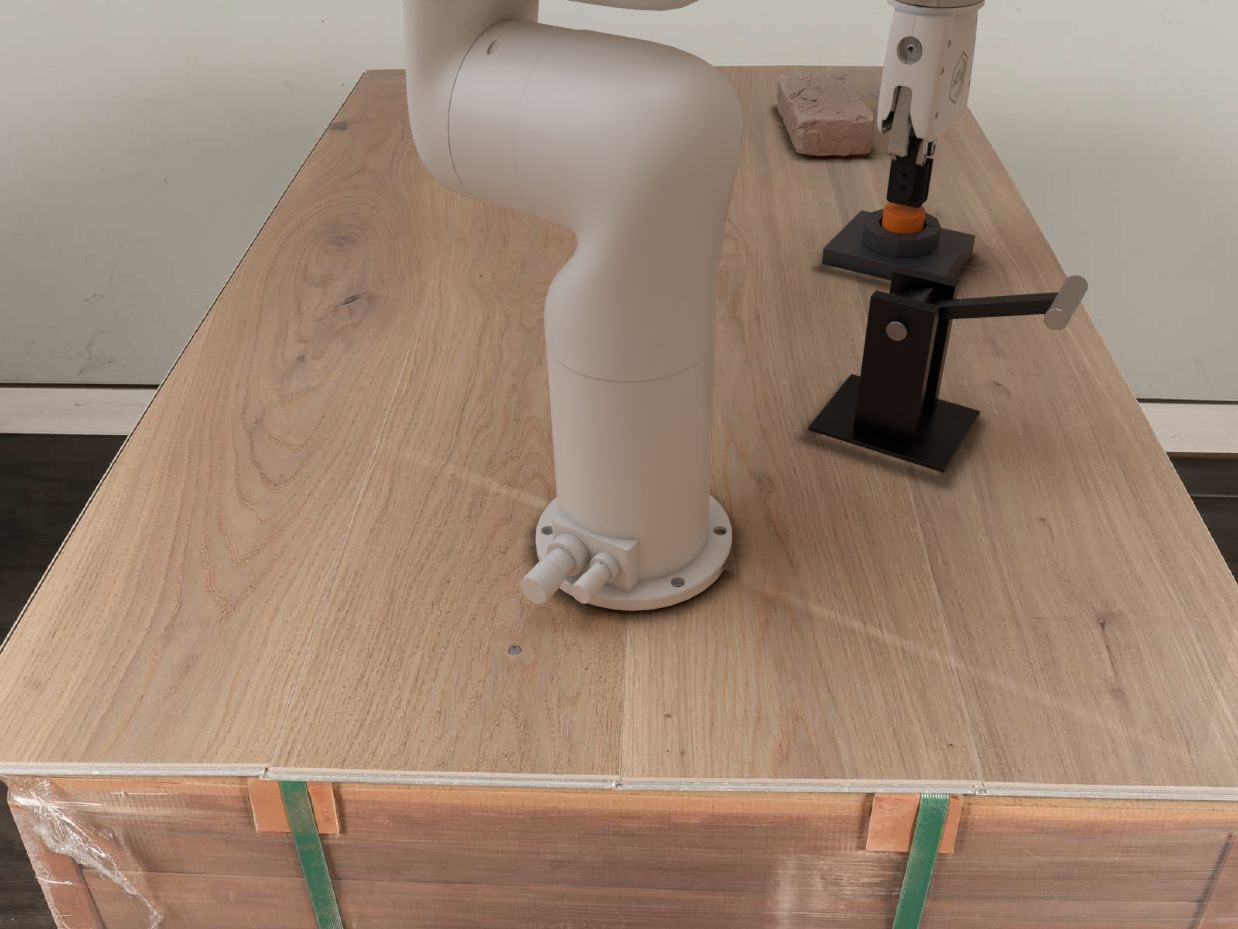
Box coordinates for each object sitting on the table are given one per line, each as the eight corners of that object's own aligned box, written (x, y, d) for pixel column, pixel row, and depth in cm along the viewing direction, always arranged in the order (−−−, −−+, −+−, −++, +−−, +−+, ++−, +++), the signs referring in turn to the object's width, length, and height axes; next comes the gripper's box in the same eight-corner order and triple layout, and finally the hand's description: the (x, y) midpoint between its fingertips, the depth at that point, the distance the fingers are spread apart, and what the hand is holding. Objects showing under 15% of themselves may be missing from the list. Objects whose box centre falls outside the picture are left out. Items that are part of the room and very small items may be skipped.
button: (928, 223, 100) (931, 205, 99) (914, 239, 98) (917, 221, 96) (890, 215, 101) (892, 197, 100) (875, 230, 99) (877, 212, 98)
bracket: (977, 424, 82) (1008, 280, 74) (941, 483, 76) (971, 334, 69) (849, 386, 86) (867, 247, 79) (806, 439, 81) (821, 295, 73)
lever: (1090, 301, 71) (1085, 266, 70) (1070, 337, 67) (1065, 301, 66) (908, 312, 78) (902, 281, 77) (882, 345, 75) (875, 312, 74)
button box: (971, 256, 102) (979, 216, 100) (939, 299, 96) (946, 257, 94) (858, 231, 107) (863, 191, 105) (821, 269, 101) (825, 229, 99)
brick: (773, 107, 134) (776, 67, 131) (843, 104, 134) (847, 65, 131) (796, 162, 121) (799, 120, 118) (873, 160, 121) (878, 117, 118)
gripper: (954, 14, 80) (918, 245, 92) (1013, -36, 90) (974, 179, 102) (855, 0, 84) (833, 226, 95) (923, -46, 93) (895, 163, 105)
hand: (906, 201), depth 98 cm, fingers closed
